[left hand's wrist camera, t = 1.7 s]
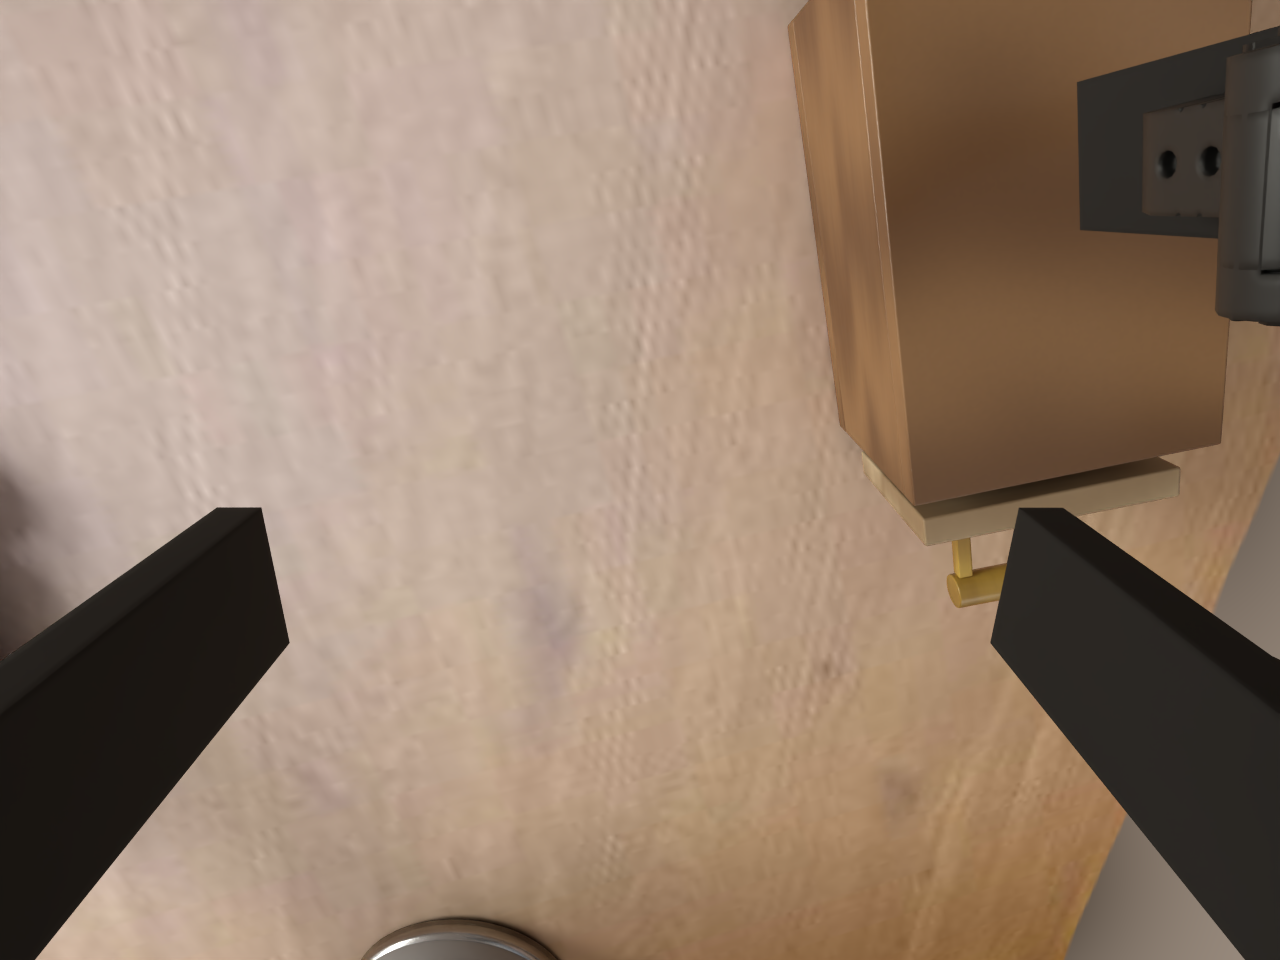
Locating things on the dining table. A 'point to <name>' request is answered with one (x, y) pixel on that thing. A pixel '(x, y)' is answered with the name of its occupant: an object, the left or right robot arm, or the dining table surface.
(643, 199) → the dining table surface
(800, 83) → the cabinet
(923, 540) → the drawer
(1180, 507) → the dining table surface
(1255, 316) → the right robot arm
